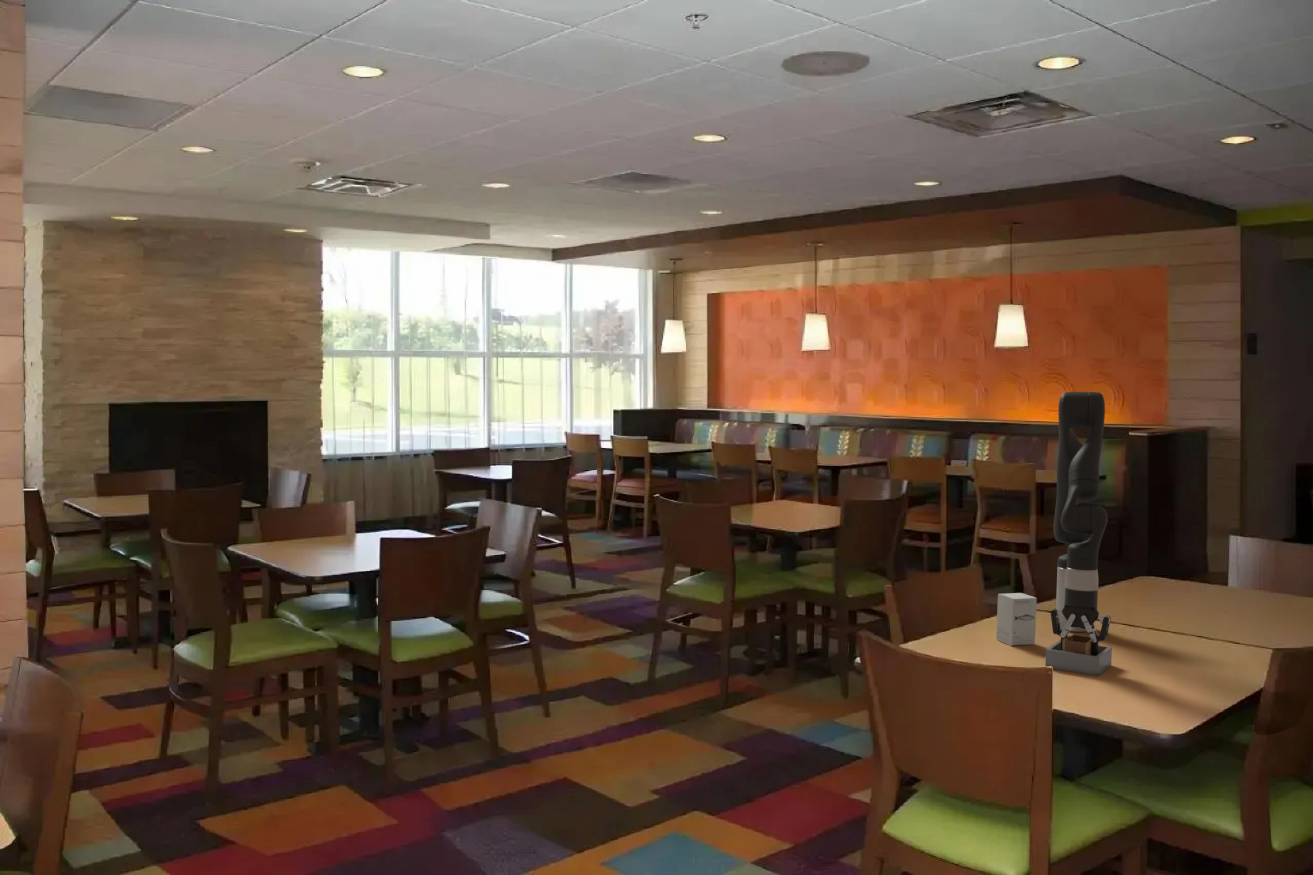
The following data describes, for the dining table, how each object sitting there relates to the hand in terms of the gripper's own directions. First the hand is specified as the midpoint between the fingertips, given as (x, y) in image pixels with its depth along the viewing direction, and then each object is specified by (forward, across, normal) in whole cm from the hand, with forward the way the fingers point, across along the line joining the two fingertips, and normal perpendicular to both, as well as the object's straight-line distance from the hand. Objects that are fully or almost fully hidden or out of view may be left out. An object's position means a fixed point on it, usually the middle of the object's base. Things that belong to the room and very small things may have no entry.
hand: (1078, 654), depth 272 cm
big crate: (+3, 0, 0) cm, 3 cm away
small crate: (+1, 0, 0) cm, 1 cm away
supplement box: (+3, +20, -15) cm, 25 cm away
